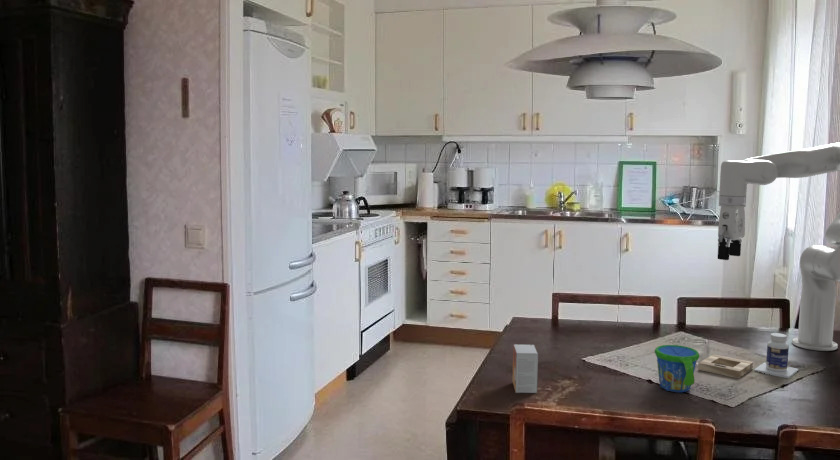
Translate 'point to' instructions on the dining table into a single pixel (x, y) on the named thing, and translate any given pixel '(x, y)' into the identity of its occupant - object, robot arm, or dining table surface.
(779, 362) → the pill bottle
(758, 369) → the coaster
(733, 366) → the socket plate
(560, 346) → the dining table surface
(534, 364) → the small box
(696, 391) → the dining table surface
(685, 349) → the snack cup
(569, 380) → the dining table surface
